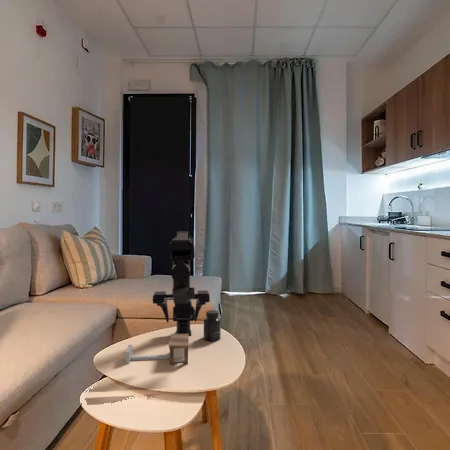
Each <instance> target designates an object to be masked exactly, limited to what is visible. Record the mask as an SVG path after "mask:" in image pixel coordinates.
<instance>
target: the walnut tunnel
mask: <svg viewBox="0 0 450 450" xmlns="http://www.w3.org/2000/svg"><path fill="white" fill-rule="evenodd" d="M169 337H170V339H169V342H168V343H169V344H168V349H169V355H170V359H169V365H170V366H174V364H175V362H174V349H177V348H184V362H183V364H184V365H189V346H190V345H189V344H190V343H189V341H190V340H189V339H190V338H189V337H190V336H189V333H186V334H176V333H171V334H170V336H169Z"/></svg>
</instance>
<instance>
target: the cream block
mask: <svg viewBox="0 0 450 450" xmlns="http://www.w3.org/2000/svg"><path fill="white" fill-rule="evenodd" d="M174 358H184V348H177V349H174Z"/></svg>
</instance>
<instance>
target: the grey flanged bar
mask: <svg viewBox="0 0 450 450" xmlns="http://www.w3.org/2000/svg"><path fill="white" fill-rule="evenodd" d="M145 360H147V361H149V360H170V354H149V355H133V344H128V345H127V348H126V349H125V364H126V365H127V364H130V363H131V361H145ZM174 363H184V358H174Z"/></svg>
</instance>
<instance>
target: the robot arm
mask: <svg viewBox="0 0 450 450" xmlns="http://www.w3.org/2000/svg"><path fill="white" fill-rule="evenodd" d="M168 253H169V257H168V259H169V260H168V261H169V262H172V268H171V272H170V274H171V278H172V290H171V291H172V293H167V292H166V290H165V291H155V292H153V295H152V304H155V305H156V306H157V307H160V308H161V310H162V312H163V315H164V317H165V321H166V323H168V324H169V322H170V321H169V320H170V319H169V309H168V308H169V307H168V301H172V302H173V304H174V306H173V307H172V319H173V321H172V322H176V330H175V334H186V333H189V337H192V329H191V322H193V321H194V323H196V322H197V319H198V316H199V313H200V311H201V309H202V307H203V306H206V304H207V303H210V301H211V299H210V292H209V290H197V293H195V287H191V262H193V260H194V259H195V258H196V257H195V255H196V253H195V244H194V239H193V237H192V236H190V232H189V231H186V230H185V231H179V230H178V231H176V233H175V236H174V237H173V239H172V240H171V242H169V252H168ZM192 300H196V302H195V303H196V304H195V307H194V306H193V301H192Z"/></svg>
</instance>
